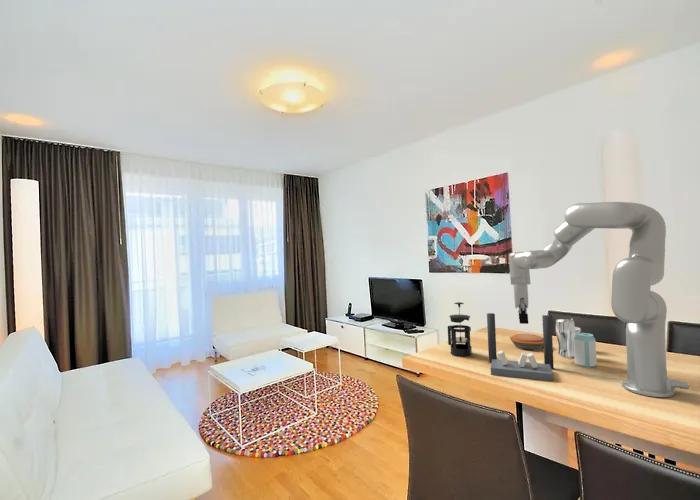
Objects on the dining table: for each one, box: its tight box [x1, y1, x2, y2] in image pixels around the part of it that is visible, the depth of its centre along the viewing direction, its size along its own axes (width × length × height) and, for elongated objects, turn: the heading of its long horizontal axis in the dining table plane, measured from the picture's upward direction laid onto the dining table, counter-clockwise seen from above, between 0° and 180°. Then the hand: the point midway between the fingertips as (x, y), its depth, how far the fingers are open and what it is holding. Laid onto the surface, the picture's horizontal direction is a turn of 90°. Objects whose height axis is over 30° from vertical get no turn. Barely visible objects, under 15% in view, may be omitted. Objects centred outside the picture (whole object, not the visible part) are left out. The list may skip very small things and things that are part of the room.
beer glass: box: [555, 318, 576, 359], centre depth 145 cm, size 7×7×15 cm
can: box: [574, 332, 598, 369], centre depth 133 cm, size 7×7×12 cm
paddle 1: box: [497, 349, 509, 365], centre depth 130 cm, size 2×4×4 cm, turn 155°
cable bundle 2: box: [541, 314, 555, 370], centre depth 132 cm, size 3×3×20 cm
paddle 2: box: [526, 352, 538, 368], centre depth 126 cm, size 2×4×4 cm, turn 155°
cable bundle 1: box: [486, 312, 498, 364], centre depth 140 cm, size 3×3×20 cm
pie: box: [509, 333, 544, 351], centre depth 161 cm, size 15×16×5 cm
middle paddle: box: [518, 351, 528, 368], centre depth 127 cm, size 2×4×4 cm, turn 155°
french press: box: [447, 301, 473, 358], centre depth 154 cm, size 12×9×23 cm
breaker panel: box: [490, 358, 554, 382], centre depth 128 cm, size 20×11×2 cm, turn 65°
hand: (523, 321), depth 145 cm, fingers open, 9 cm apart
